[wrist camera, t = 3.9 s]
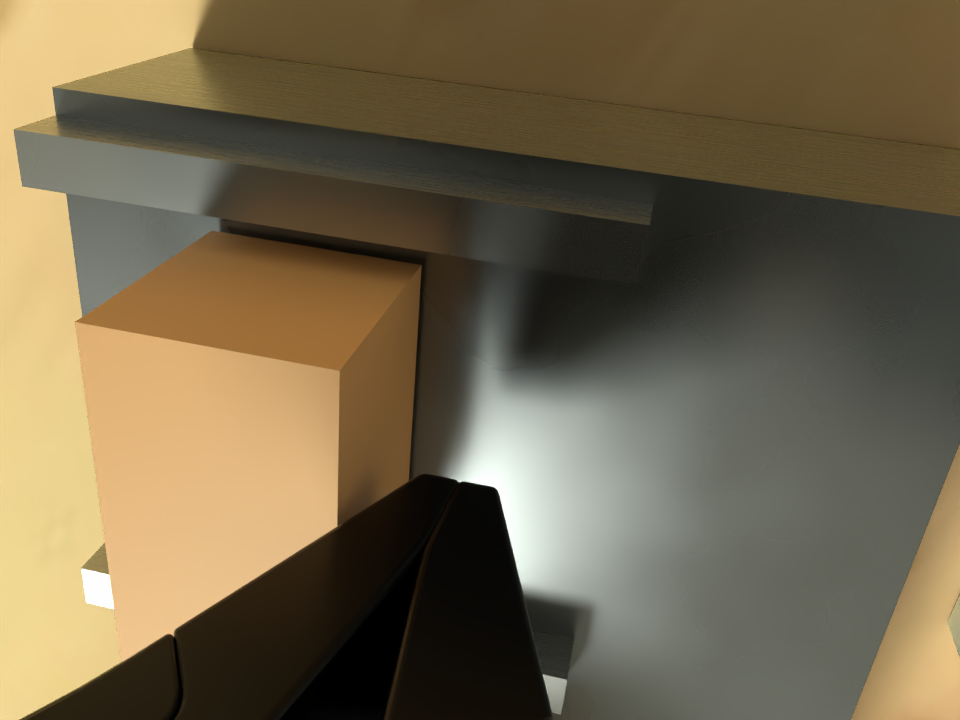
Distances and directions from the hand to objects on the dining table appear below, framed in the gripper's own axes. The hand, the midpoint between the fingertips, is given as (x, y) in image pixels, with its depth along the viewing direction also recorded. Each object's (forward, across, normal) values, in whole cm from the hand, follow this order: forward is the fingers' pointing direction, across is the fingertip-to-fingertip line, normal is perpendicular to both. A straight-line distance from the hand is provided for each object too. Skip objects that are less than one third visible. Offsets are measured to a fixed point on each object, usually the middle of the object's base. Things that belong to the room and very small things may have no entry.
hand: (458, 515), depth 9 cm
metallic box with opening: (+4, 0, +5) cm, 7 cm away
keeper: (+1, +2, 0) cm, 3 cm away
